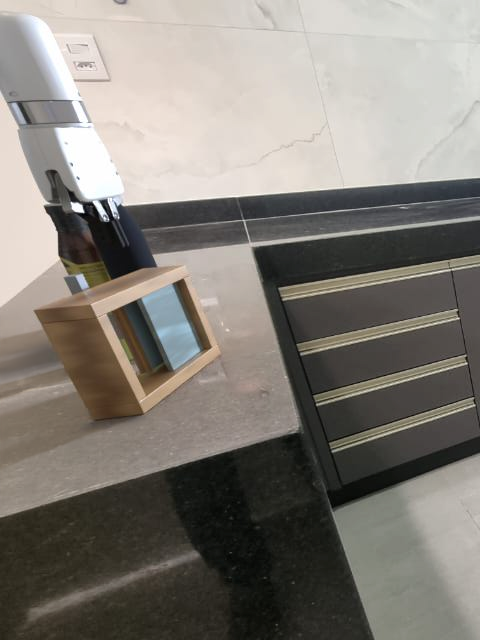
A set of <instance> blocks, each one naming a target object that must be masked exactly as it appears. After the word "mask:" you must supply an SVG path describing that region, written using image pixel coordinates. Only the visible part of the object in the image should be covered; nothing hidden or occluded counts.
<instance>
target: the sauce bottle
mask: <svg viewBox="0 0 480 640" xmlns="http://www.w3.org/2000/svg"><path fill="white" fill-rule="evenodd" d="M43 209H44V211H45V213H46V214H47V215H48V216H49V217H50V219H51V222H52V223H53V225H54V227H55V232H57V255H58V257H59V260H60V261H61V264H62V265H63V267H64V269H65V271H66V273H67V276H69V275H73V274H83V276H84V278H85V280H86V282H87V284H88V286H89V288H93V287H95V286H98V285H101V284H103V283H106V282H109V281H111V278H110V276H109V274H108V272H107V269H106V267H105V265H104V263H103V261H102V259H101V257H100V254H99V252H98V250H97V248H96V246H95V244H94V242H93V239H92V236H91V232H90V229H89V227H88V225H87V224H85V223H84V222H83V221H82V220H81V218H80V217H79V216H78V215H77V214H71V213H65V212H64V211H63V208H62V205H61V204H51V203H46V204H43Z"/></svg>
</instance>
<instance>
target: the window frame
mask: <svg viewBox="0 0 480 640" xmlns="http://www.w3.org/2000/svg"><path fill="white" fill-rule="evenodd" d="M135 300H137V303H138V305H139V307H140V309H141V311H142V314H143V316H144V318H145V320H146V322H147V325H148V327H149V329H150V331H151V333H152V336H153V338H154V340H155V342H156V344H157V347H158V349H159V351H160V353H161V355H162V358H163V360H164V363H162V364H161V365H159V366H158V367H156V368H155V369H153V371H152V372H150V373H146V374H141V373H139V374H136V372H135V370H134V367H133V366H132V364H131V362H130V361H129V360H128V357H127V355H126V353H125V351H124V349H123V347H122V345H121V343H120V341H119V339H118V337H117V335H116V333H115V331H114V329H113V326H112V324H111V322H110V320H109V318H108V316H107V313H109V312H111V311H113V310H115V309H117V308H120V307H122V306H124V305H126V304H128V303H131V302H133V301H135ZM33 312H34V314H35V316H36V318H37V320H38V322H39V323H40V324H41V327H42V329H43V331H44V333H45V334H46V336H47V338H48V340H49V343H50V344H51V346H52V347H53V349H54V351H55V353H56V355H57V356H58V359H59V360H60V362H61V364H62V366H63V368H64V370H65V371H66V373H67V375H68V377H69V379H70V381H71V383H72V385H73V386H74V388H75V390H76V392H77V393H78V395H79V397H80V400H81V401H82V403H83V404H84V406H85V409H86V410H87V412H88V414H89V417H90V418H91V419H92V421H98V420H107V419H113V418H114V419H115V418H122V417H131V416H137V415H138V416H139V415H144V414H146V413H147V412H148V411H150V410H151V409H153V408H154V407H155V406H156V405H157V404H159V403H160V402H161V401H162V400H164V399H165V398H166V397H167V396H169V395H170V394H171V393H173V392H174V391H175V390H177V389H178V388H180V386H182V385H183V384H184V383H186V382H187V381H188V380H189V379H191V378H192V377H193V376H195V375H196V374H197V373H198V372H200V371H201V370H202V369H204V368H205V367H206V366H207V365H209V364H210V363H211V362H212V361H214V360H215V359H216V358H218V357H219V356H220V355H221V354H222V352H221V350H220V348H219V347H220V346H218V343H217V340H216V338H215V335H214V332H213V330H212V328H211V325H210V323H209V320H208V318H207V315H206V313H205V310H204V308H203V305H202V303H201V300H200V298H199V296H198V293H197V290H196V288H195V286H194V283H193V281H192V278H191V276H190V273H189V271H188V268H187V266H186V265H185V264H179V265H171V266H170V265H168V266H167V265H166V266H157V267H155V268H143V269H140V270H138V271H135V272H132V273H130V274H127V275H124V276H122V277H119V278H117V279H114V280H111V281H109V282H106V283H103V284H101V285H98V286H95V287H93V288H90V289H87V290H85V291H82V292H80V293H77V294H74V295H72V294H71V295H69V296H67V297H64V298H62V299H61V298H60V299H58V300H56V301H53V302H51V303H49V304H45V305H43V306H40V307H37V308H34V309H33Z"/></svg>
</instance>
